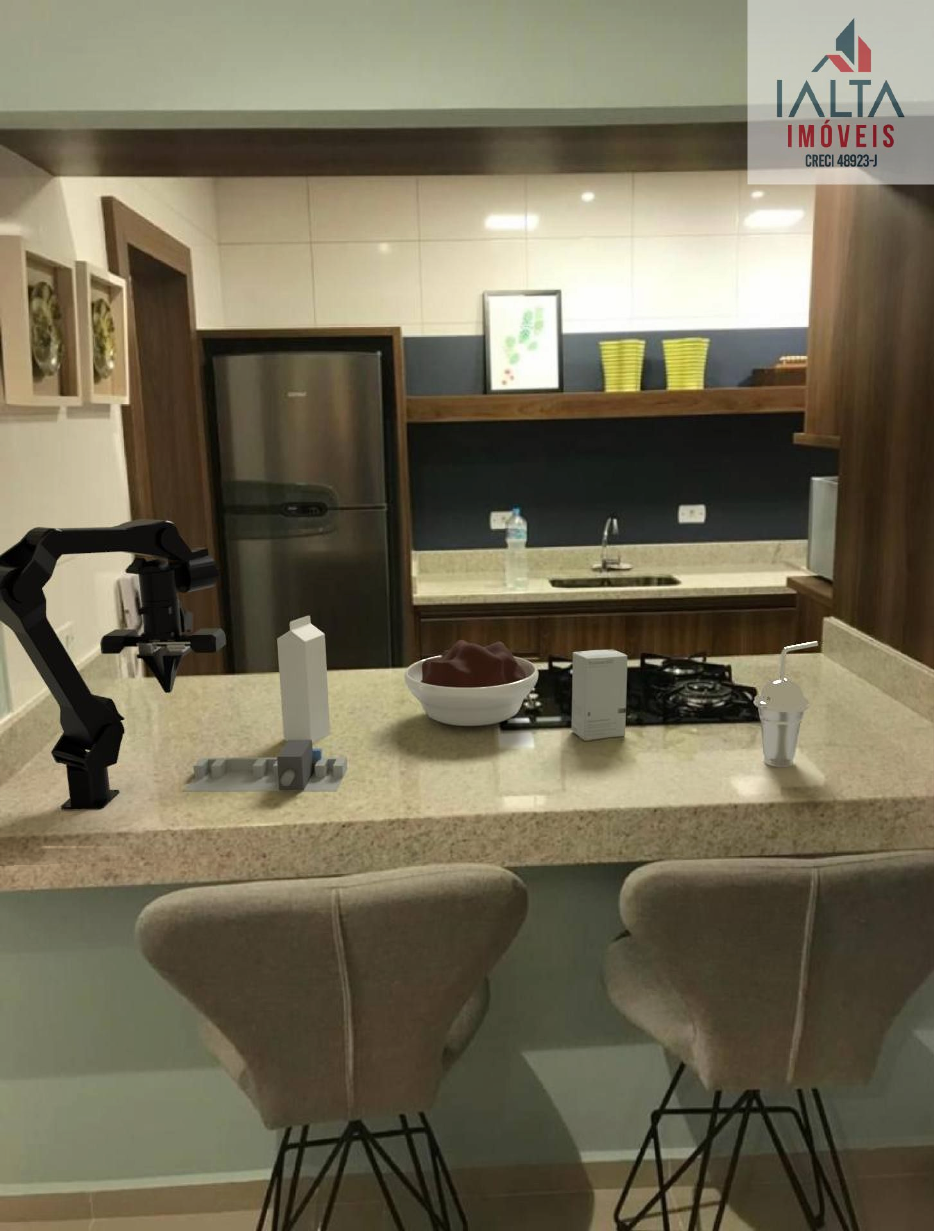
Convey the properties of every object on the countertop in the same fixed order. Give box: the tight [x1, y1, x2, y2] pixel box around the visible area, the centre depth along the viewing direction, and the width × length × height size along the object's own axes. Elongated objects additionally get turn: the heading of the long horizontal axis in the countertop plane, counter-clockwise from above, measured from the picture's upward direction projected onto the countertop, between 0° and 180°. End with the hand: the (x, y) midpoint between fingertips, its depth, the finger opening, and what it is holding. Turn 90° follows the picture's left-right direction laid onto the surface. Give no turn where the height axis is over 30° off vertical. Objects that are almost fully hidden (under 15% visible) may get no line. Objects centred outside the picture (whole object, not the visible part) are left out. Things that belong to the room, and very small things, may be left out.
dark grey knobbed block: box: [276, 740, 314, 790], centre depth 147 cm, size 10×4×6 cm, turn 177°
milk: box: [276, 615, 331, 745], centre depth 167 cm, size 6×6×22 cm
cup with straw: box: [753, 640, 819, 768], centre depth 150 cm, size 8×9×20 cm
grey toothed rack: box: [182, 747, 348, 792], centre depth 149 cm, size 9×24×4 cm, turn 87°
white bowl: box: [403, 639, 539, 727], centre depth 176 cm, size 25×25×15 cm
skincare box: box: [571, 649, 628, 742], centre depth 166 cm, size 8×6×15 cm
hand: (168, 692), depth 154 cm, fingers closed
